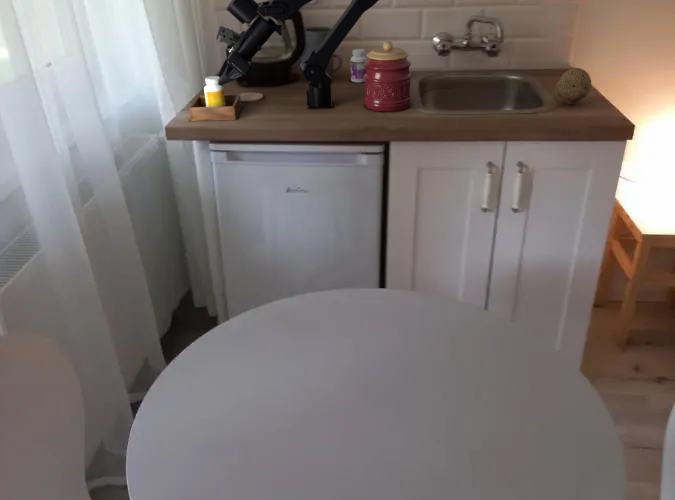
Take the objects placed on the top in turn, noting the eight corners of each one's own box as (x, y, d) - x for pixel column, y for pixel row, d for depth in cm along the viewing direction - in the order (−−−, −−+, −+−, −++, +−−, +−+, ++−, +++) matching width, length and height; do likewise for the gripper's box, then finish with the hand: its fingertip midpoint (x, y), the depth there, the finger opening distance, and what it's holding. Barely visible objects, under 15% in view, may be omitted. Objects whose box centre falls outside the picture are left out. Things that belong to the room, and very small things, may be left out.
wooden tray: (241, 106, 181) (240, 94, 179) (235, 119, 170) (234, 106, 168) (199, 107, 181) (197, 95, 179) (190, 120, 170) (188, 107, 168)
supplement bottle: (203, 112, 176) (198, 77, 171) (220, 108, 179) (216, 74, 174) (213, 116, 172) (208, 81, 167) (229, 112, 175) (226, 77, 170)
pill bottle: (348, 79, 205) (348, 49, 200) (363, 77, 206) (363, 47, 201) (353, 83, 200) (353, 52, 195) (369, 81, 201) (369, 50, 197)
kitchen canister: (395, 96, 185) (396, 34, 176) (418, 107, 175) (421, 42, 166) (356, 103, 180) (355, 39, 172) (377, 114, 170) (378, 48, 161)
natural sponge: (589, 110, 169) (596, 72, 164) (555, 108, 171) (560, 71, 166) (586, 100, 176) (592, 64, 171) (553, 99, 178) (558, 63, 173)
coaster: (264, 93, 192) (264, 92, 192) (261, 101, 184) (261, 100, 184) (235, 94, 192) (235, 92, 192) (231, 102, 185) (231, 101, 184)
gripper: (231, 9, 172) (195, 53, 176) (233, 20, 156) (194, 68, 160) (262, 38, 177) (227, 79, 181) (267, 51, 161) (228, 96, 165)
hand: (218, 80), depth 171 cm, fingers open, 9 cm apart
